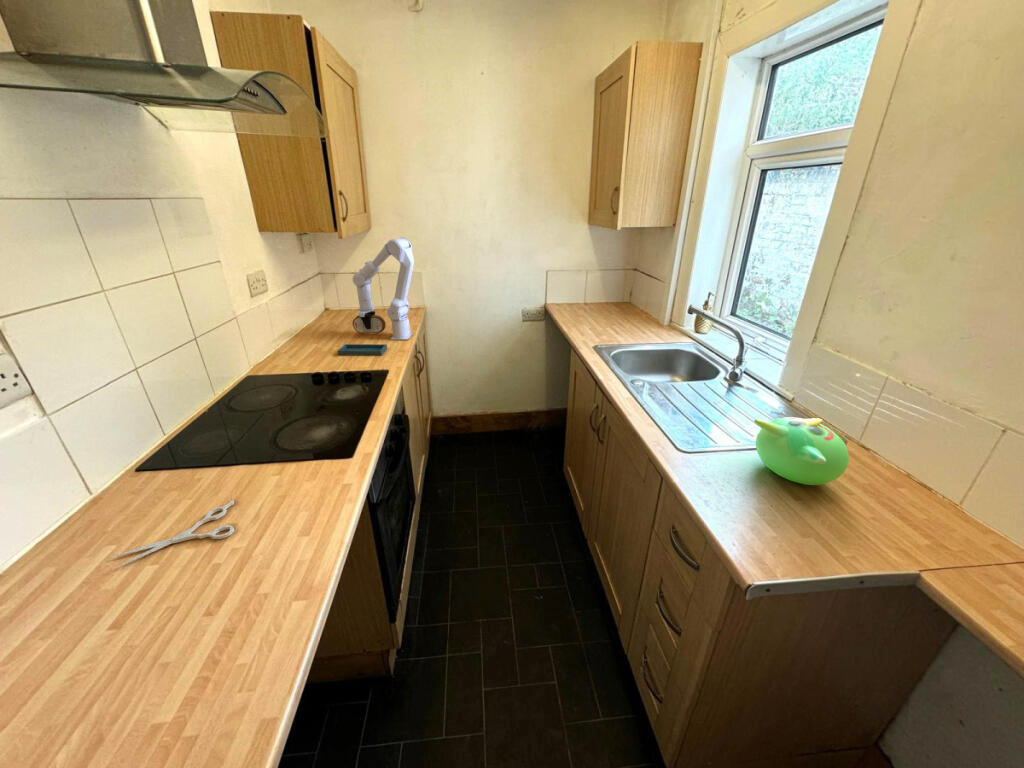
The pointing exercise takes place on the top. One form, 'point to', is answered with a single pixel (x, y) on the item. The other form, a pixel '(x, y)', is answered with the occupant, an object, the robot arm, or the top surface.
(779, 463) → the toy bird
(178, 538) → the scissors
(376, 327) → the tin
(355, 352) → the tray
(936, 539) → the top surface
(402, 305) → the robot arm
